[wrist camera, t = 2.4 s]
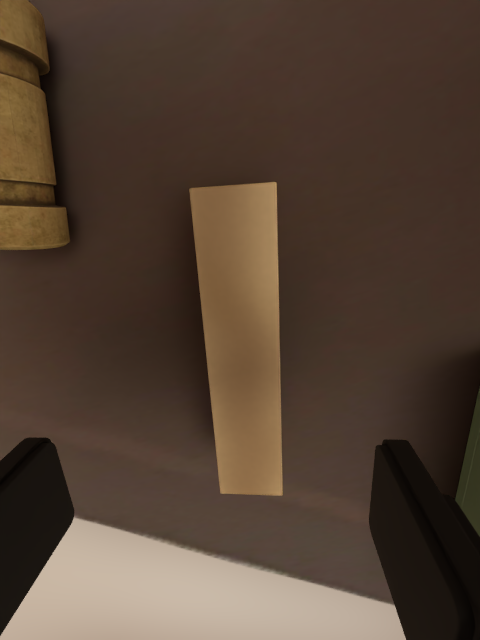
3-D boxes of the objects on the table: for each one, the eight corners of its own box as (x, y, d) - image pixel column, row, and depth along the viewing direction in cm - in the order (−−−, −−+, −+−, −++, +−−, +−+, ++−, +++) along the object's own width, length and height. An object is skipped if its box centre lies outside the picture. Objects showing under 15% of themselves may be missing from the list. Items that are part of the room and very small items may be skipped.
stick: (275, 189, 16) (276, 181, 12) (280, 440, 22) (282, 496, 17) (209, 193, 17) (188, 187, 13) (230, 439, 22) (220, 493, 18)
